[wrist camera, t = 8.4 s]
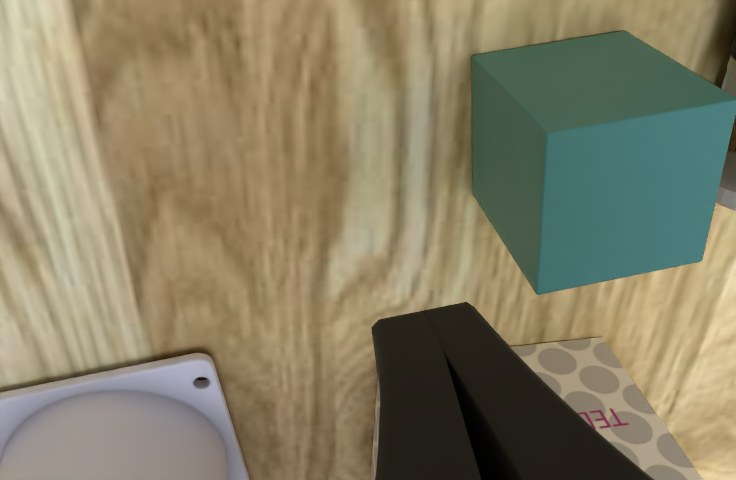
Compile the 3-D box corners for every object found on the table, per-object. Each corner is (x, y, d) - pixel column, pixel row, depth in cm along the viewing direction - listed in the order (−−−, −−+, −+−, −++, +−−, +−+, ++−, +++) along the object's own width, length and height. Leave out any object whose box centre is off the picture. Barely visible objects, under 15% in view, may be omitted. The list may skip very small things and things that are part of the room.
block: (608, 169, 21) (702, 262, 17) (472, 194, 21) (536, 296, 17) (625, 29, 19) (740, 99, 15) (470, 54, 18) (546, 133, 14)
